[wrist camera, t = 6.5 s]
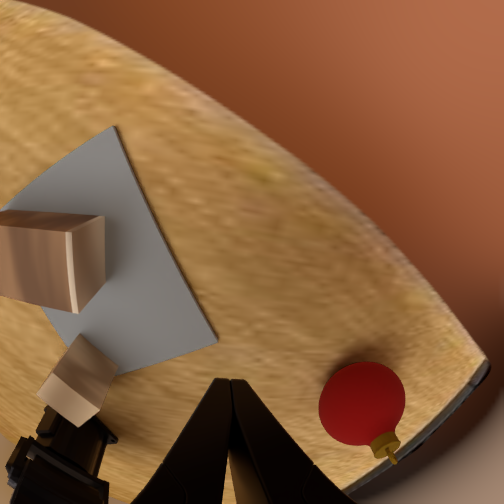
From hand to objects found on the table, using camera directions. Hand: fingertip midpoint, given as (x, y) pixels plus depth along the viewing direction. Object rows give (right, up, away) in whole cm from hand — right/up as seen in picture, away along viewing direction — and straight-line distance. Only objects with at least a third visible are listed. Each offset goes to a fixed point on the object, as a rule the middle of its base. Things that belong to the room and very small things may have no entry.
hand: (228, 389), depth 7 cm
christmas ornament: (+9, -7, +15) cm, 19 cm away
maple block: (-13, -5, +12) cm, 18 cm away
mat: (-10, +2, +10) cm, 15 cm away
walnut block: (-9, +3, +7) cm, 12 cm away
